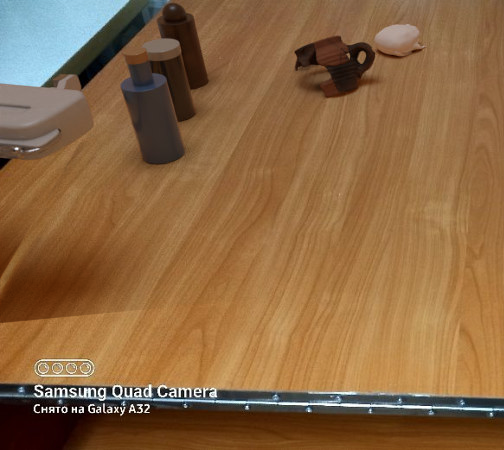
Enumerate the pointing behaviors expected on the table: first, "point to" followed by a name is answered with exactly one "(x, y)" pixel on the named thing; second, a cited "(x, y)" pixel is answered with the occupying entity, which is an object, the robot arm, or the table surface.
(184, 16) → the pepper mill
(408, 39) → the pale pink rounded lump
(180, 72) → the salt shaker
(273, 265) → the table surface
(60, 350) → the table surface
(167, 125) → the blue bottle
